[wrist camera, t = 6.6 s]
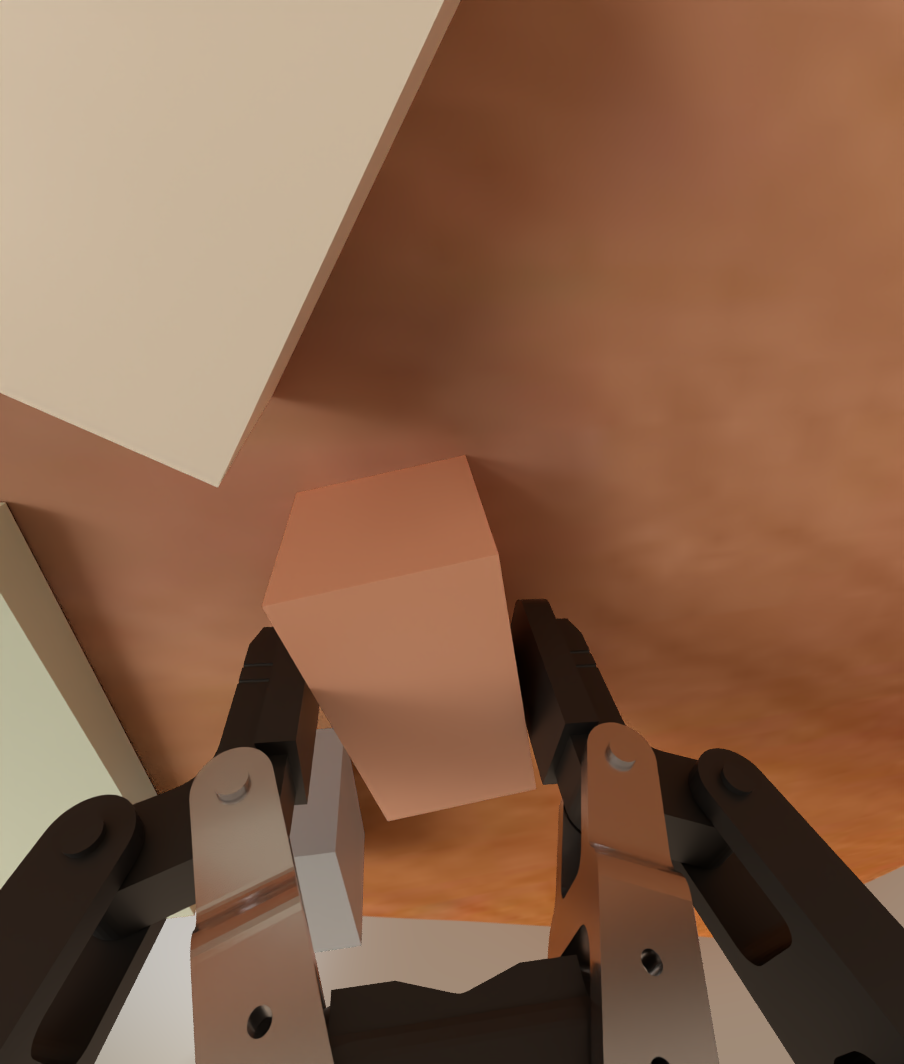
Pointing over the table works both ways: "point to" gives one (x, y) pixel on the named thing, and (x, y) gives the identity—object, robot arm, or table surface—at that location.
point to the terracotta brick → (406, 635)
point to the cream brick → (185, 199)
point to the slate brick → (330, 848)
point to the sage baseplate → (50, 713)
